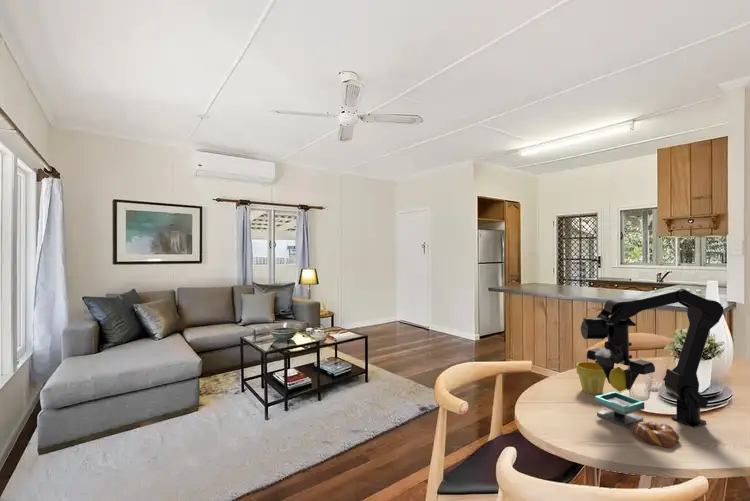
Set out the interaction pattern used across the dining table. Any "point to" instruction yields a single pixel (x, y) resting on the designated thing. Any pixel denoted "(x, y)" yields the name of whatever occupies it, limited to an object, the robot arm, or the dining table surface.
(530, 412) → the dining table surface
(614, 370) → the lemon
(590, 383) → the plant pot
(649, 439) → the pretzel
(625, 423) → the teal tray on stand
